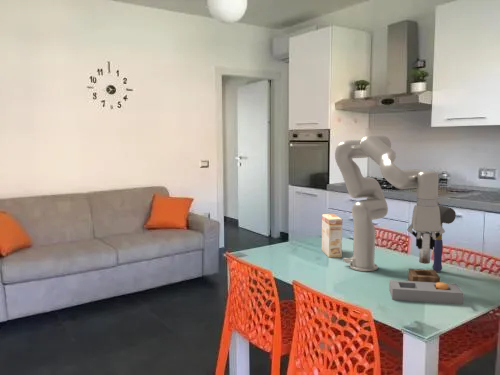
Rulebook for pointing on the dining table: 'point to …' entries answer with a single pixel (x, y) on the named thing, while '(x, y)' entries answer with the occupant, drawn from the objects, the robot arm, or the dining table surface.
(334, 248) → the coffeecake box
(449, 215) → the rubber mallet
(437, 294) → the socket block
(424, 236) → the silver metal cylinder
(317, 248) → the dining table surface
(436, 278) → the brown open square box
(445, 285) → the release button
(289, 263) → the dining table surface
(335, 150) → the robot arm
